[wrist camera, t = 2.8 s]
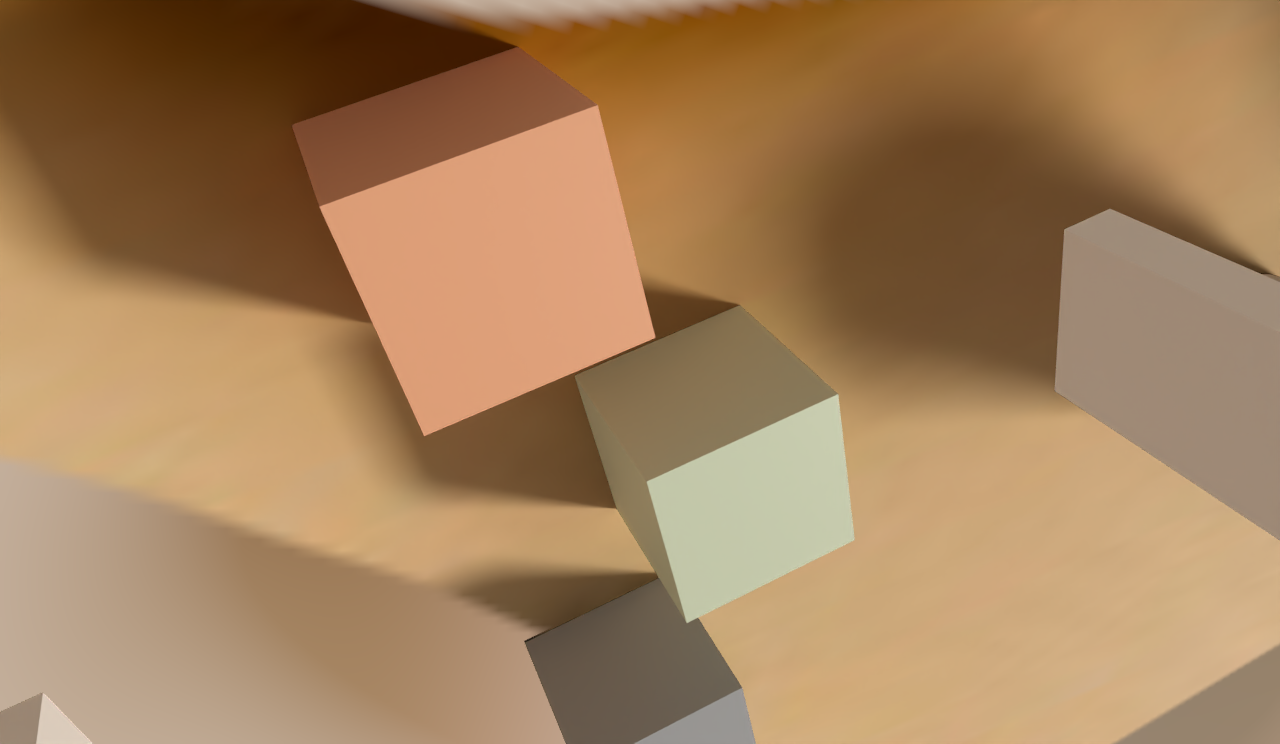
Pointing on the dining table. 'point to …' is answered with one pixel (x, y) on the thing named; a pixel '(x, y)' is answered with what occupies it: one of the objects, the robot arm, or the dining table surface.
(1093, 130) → the dining table surface
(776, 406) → the sage cube
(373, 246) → the terracotta cube
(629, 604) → the slate cube
